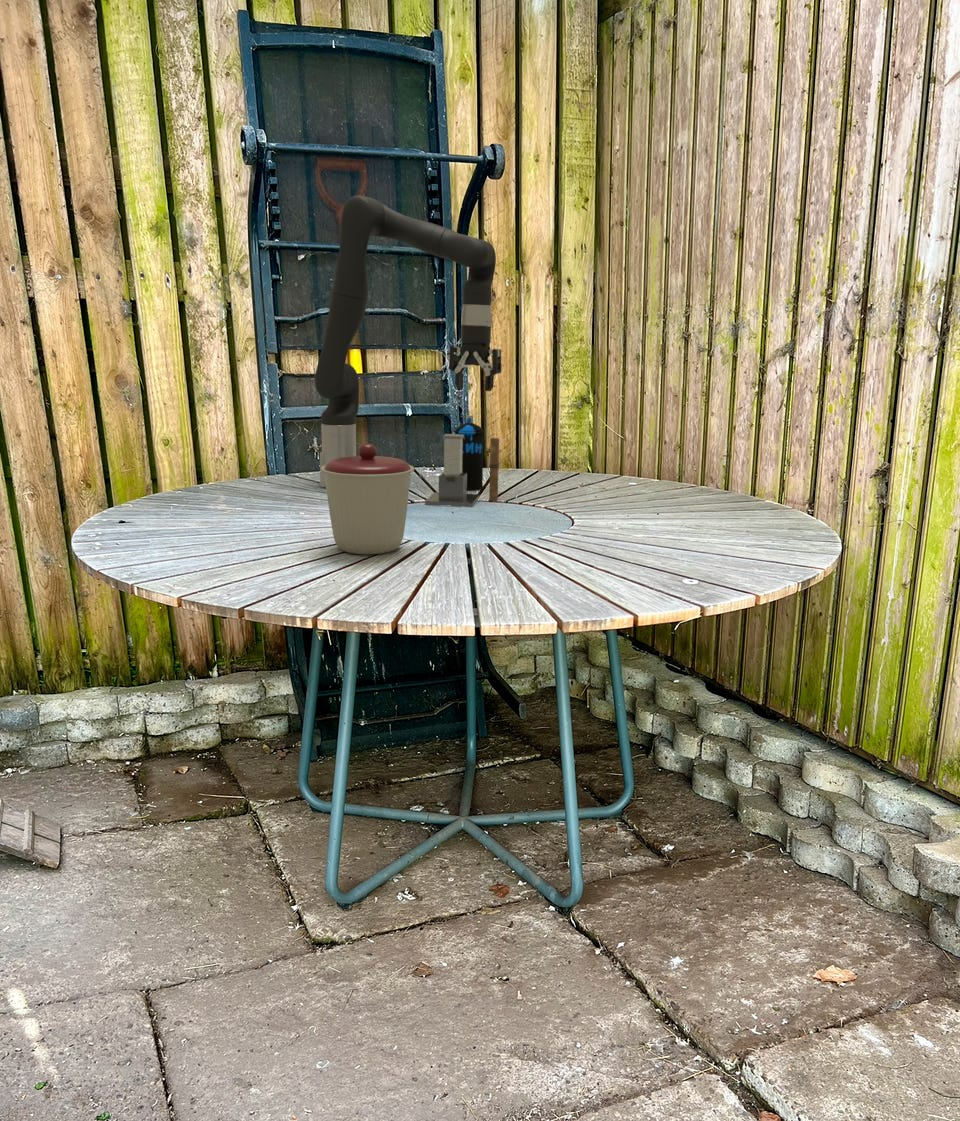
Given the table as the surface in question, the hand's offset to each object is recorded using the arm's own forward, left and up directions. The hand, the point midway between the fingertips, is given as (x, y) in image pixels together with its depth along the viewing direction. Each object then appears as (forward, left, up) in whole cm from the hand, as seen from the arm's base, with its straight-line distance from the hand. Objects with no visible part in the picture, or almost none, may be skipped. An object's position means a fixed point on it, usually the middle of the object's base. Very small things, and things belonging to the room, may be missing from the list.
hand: (474, 389), depth 227 cm
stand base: (-4, -7, -28) cm, 29 cm away
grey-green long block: (-4, -7, -26) cm, 28 cm away
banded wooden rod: (+6, -3, -28) cm, 29 cm away
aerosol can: (-3, +13, -28) cm, 31 cm away
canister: (-12, -60, -28) cm, 67 cm away
